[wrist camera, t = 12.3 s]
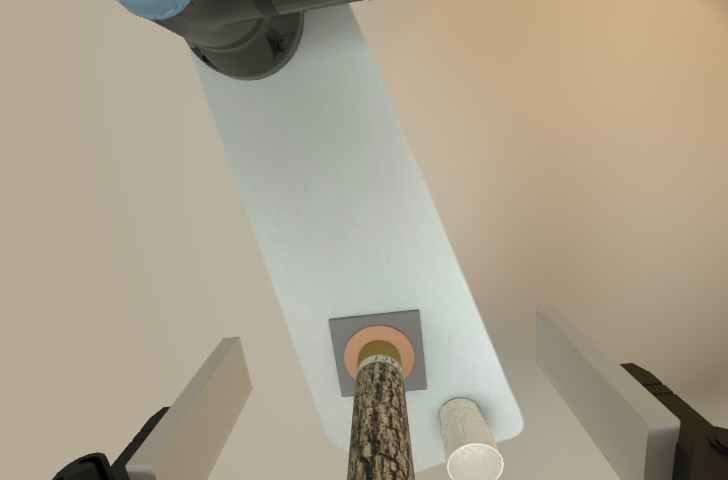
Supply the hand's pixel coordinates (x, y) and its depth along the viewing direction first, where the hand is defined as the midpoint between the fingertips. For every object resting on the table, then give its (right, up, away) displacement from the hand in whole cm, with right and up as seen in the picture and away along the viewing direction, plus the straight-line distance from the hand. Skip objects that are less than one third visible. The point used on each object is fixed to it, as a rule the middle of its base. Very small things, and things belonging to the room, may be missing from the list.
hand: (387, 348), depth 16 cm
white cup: (+15, -24, +45) cm, 53 cm away
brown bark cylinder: (+1, -14, +41) cm, 43 cm away
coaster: (+1, -13, +42) cm, 44 cm away
